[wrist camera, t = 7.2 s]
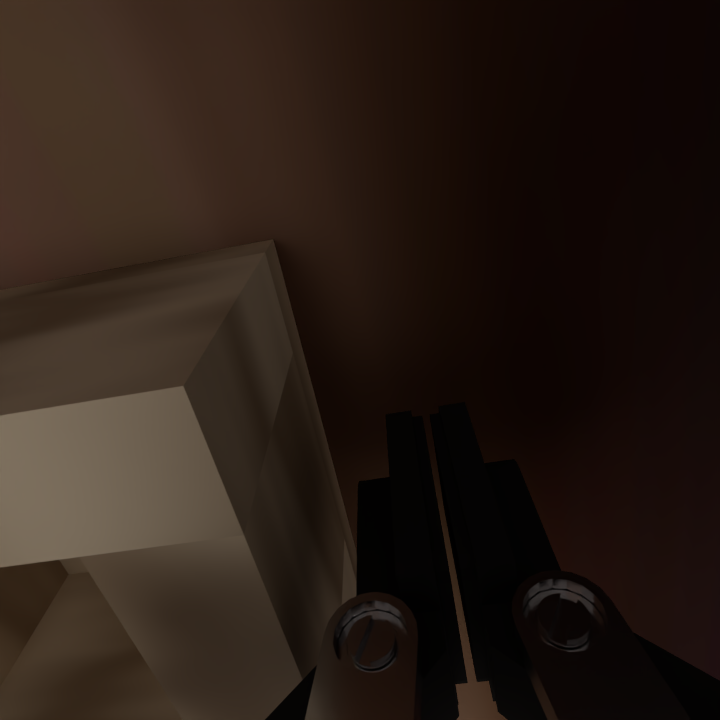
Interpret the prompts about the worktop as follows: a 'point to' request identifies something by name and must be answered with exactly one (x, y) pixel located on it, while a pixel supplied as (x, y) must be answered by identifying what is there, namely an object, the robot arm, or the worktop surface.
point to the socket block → (163, 494)
